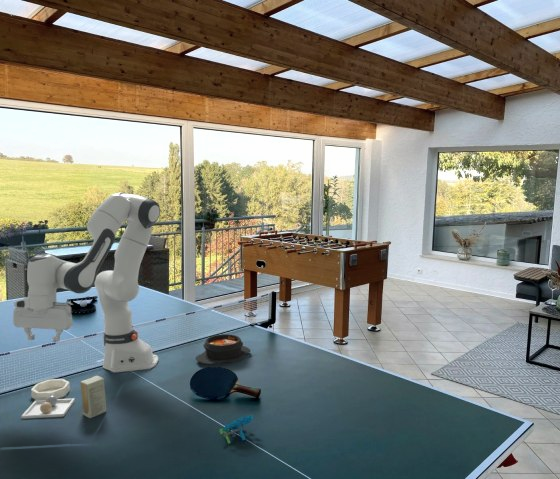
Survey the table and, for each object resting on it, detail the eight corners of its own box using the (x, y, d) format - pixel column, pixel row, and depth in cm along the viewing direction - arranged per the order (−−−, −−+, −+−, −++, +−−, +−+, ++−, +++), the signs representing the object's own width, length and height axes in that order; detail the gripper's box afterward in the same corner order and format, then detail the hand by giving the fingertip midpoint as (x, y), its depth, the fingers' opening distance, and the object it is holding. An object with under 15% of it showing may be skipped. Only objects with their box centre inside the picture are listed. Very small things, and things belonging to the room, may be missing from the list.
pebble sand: (54, 410, 165) (53, 399, 164) (49, 415, 161) (49, 404, 161) (42, 410, 165) (42, 400, 164) (38, 415, 161) (37, 405, 160)
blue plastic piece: (248, 420, 155) (254, 409, 147) (255, 438, 152) (262, 428, 144) (215, 433, 150) (220, 423, 142) (222, 452, 147) (228, 442, 139)
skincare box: (99, 409, 167) (97, 374, 165) (107, 412, 164) (104, 377, 162) (82, 416, 162) (79, 380, 160) (89, 420, 159) (86, 384, 157)
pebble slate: (59, 403, 170) (58, 393, 169) (55, 408, 166) (54, 398, 166) (48, 403, 169) (47, 393, 169) (44, 408, 166) (43, 398, 165)
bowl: (73, 387, 184) (72, 378, 183) (62, 401, 172) (61, 392, 172) (41, 388, 183) (40, 379, 182) (27, 403, 171) (26, 393, 171)
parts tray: (75, 402, 171) (74, 398, 171) (63, 418, 160) (63, 413, 160) (35, 404, 170) (35, 400, 170) (21, 420, 159) (21, 415, 159)
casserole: (233, 346, 227) (233, 328, 225) (259, 356, 213) (259, 338, 212) (187, 360, 210) (186, 341, 209) (212, 372, 196) (211, 352, 195)
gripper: (75, 300, 171) (76, 339, 173) (21, 298, 174) (22, 336, 175) (65, 305, 165) (66, 345, 166) (9, 302, 167) (11, 341, 169)
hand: (43, 340), depth 171 cm, fingers open, 8 cm apart
